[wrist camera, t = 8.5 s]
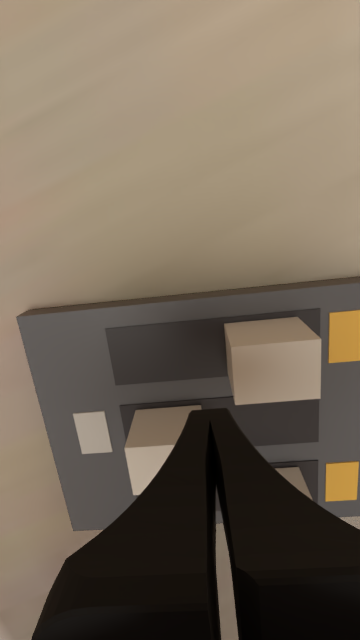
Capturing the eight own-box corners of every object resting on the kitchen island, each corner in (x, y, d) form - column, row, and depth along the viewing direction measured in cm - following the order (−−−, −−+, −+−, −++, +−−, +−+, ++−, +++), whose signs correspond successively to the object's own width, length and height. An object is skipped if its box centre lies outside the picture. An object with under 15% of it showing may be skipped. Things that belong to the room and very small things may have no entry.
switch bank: (352, 497, 23) (363, 517, 22) (80, 512, 25) (72, 532, 23) (363, 276, 19) (378, 281, 17) (28, 309, 20) (15, 317, 19)
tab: (205, 446, 21) (207, 490, 17) (142, 451, 21) (133, 495, 18) (201, 404, 20) (202, 442, 16) (135, 409, 20) (124, 448, 17)
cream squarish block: (297, 366, 19) (320, 398, 15) (227, 372, 19) (235, 405, 16) (297, 316, 18) (321, 339, 15) (224, 323, 18) (231, 347, 15)
